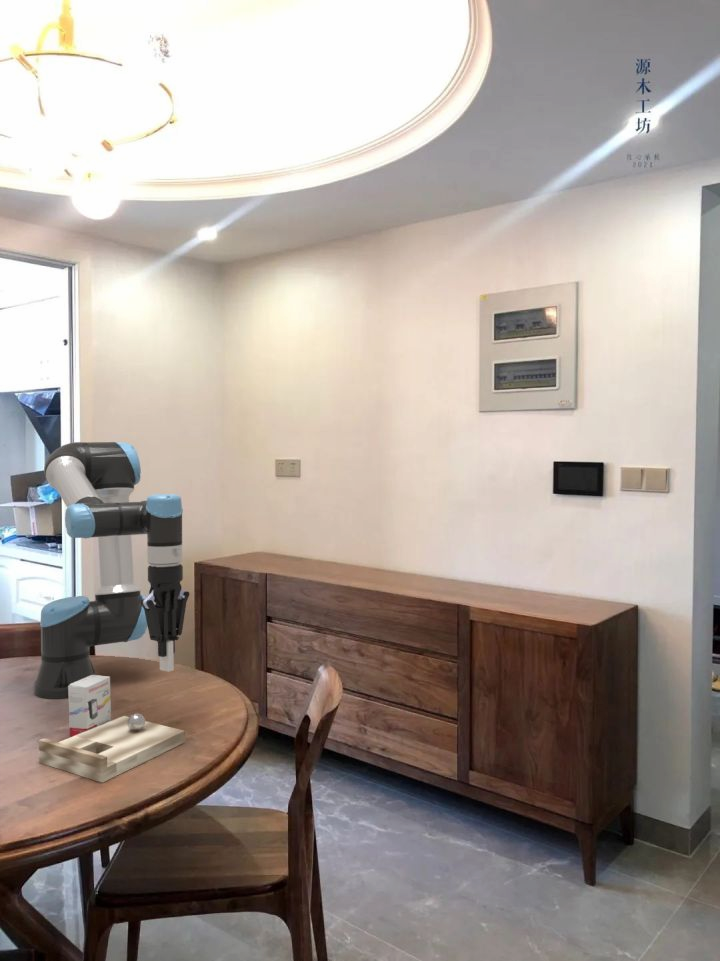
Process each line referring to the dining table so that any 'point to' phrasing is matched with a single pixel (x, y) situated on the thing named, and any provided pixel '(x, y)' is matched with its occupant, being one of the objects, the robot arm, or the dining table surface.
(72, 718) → the ink box
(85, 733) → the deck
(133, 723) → the ball
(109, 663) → the dining table surface
